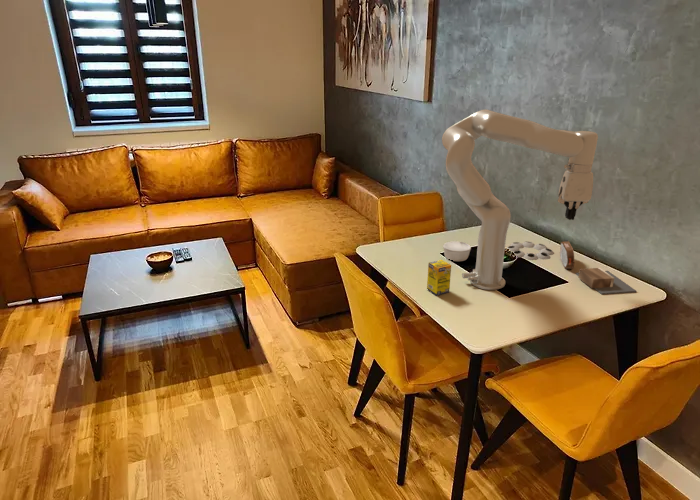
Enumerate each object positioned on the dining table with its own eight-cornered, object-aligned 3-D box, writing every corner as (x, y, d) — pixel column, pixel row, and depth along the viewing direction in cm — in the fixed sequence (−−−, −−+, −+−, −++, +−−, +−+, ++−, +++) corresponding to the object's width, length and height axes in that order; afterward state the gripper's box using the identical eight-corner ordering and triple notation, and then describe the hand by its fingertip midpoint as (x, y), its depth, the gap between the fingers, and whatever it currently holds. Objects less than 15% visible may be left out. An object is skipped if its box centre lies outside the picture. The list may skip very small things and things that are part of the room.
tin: (573, 272, 190) (576, 252, 187) (564, 271, 191) (568, 251, 188) (565, 257, 204) (568, 238, 201) (557, 256, 205) (560, 237, 201)
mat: (601, 294, 173) (601, 293, 173) (575, 274, 189) (576, 272, 189) (636, 292, 174) (636, 290, 174) (607, 272, 190) (607, 270, 190)
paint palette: (505, 242, 222) (505, 237, 221) (551, 245, 217) (552, 241, 216) (505, 258, 205) (506, 254, 204) (556, 263, 200) (556, 258, 199)
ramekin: (475, 258, 204) (476, 246, 202) (456, 265, 198) (457, 253, 196) (456, 250, 213) (456, 239, 211) (437, 256, 207) (437, 244, 205)
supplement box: (436, 296, 174) (438, 268, 170) (426, 289, 179) (427, 262, 174) (449, 292, 176) (451, 264, 172) (439, 286, 181) (441, 259, 177)
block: (593, 279, 175) (614, 278, 176) (579, 269, 183) (600, 267, 184) (591, 288, 176) (612, 286, 177) (578, 277, 185) (598, 276, 185)
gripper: (563, 170, 165) (554, 222, 172) (606, 170, 166) (595, 221, 173) (553, 165, 172) (544, 215, 179) (594, 165, 173) (584, 215, 180)
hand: (569, 218), depth 176 cm, fingers closed
